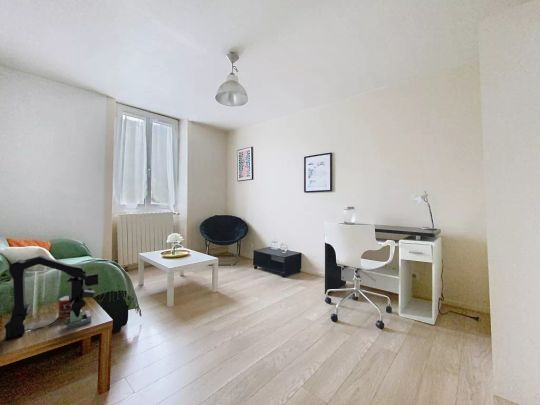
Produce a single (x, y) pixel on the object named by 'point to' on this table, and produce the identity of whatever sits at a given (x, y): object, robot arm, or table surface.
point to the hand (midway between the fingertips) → (76, 314)
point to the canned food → (64, 307)
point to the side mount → (81, 322)
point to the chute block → (74, 318)
